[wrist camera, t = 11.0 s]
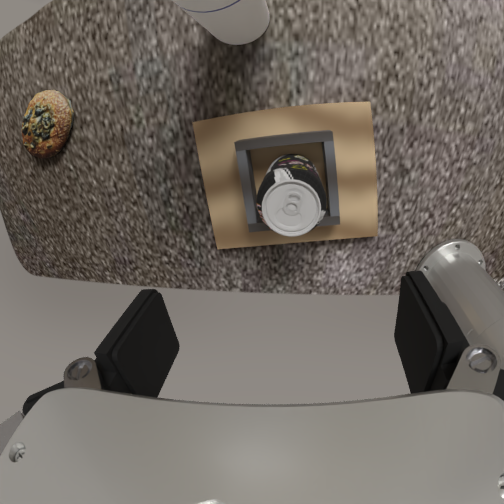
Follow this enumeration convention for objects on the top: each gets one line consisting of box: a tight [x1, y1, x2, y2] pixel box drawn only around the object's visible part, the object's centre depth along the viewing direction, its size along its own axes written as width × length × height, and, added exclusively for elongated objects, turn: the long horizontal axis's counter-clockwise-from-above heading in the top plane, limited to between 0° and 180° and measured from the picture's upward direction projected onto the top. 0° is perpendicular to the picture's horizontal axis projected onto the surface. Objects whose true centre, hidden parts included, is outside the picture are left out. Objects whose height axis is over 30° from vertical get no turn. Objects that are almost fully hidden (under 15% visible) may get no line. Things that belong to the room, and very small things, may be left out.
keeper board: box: [193, 102, 378, 249], centre depth 33 cm, size 16×20×4 cm
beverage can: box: [256, 154, 327, 237], centre depth 28 cm, size 6×6×12 cm
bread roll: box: [22, 90, 74, 159], centre depth 33 cm, size 11×11×5 cm
